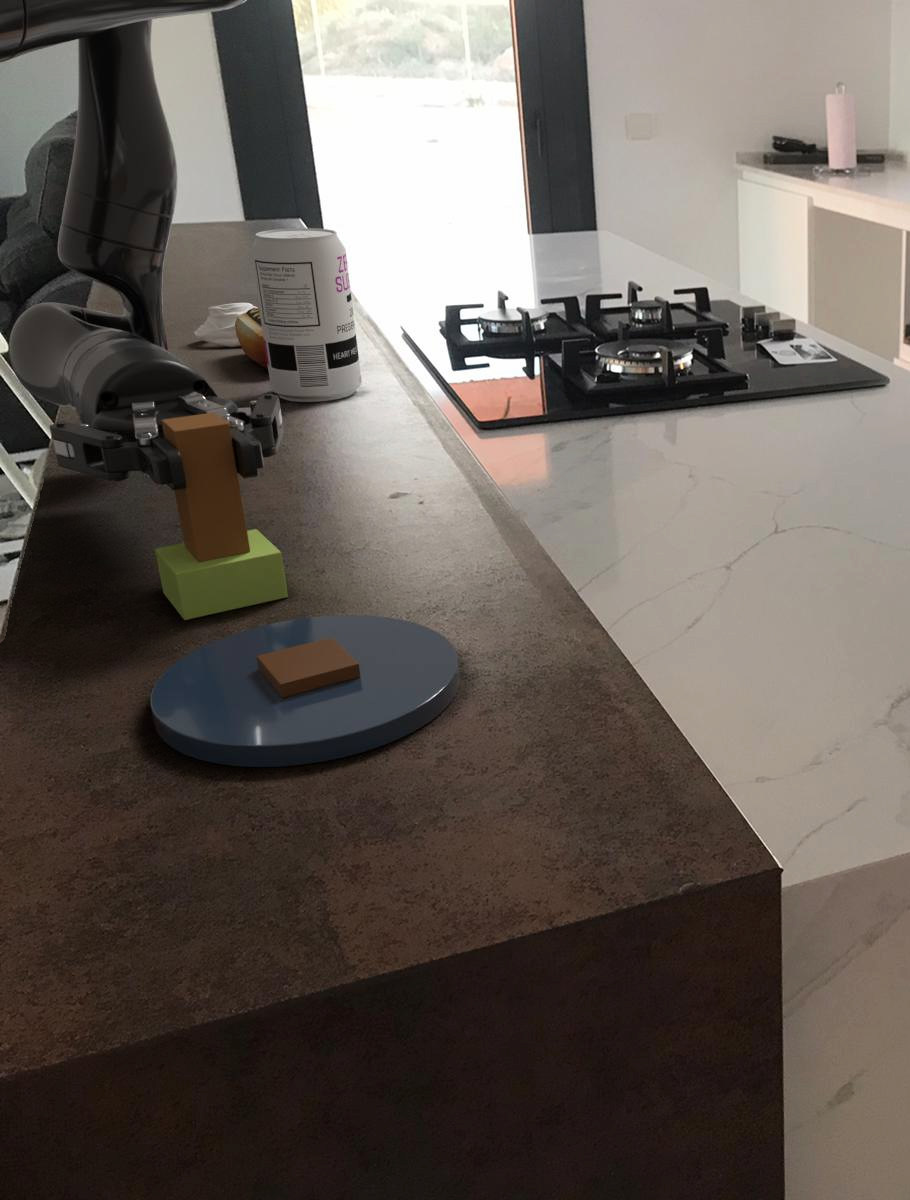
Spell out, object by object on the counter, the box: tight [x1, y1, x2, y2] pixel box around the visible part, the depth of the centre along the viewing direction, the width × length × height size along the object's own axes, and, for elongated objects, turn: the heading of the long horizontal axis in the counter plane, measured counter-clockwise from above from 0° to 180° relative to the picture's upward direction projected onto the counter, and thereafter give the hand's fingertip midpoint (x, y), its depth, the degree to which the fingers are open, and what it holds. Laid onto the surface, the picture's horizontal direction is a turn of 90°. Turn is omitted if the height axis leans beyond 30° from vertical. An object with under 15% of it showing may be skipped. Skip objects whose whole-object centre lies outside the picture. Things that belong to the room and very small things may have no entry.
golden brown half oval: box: [235, 307, 268, 370], centre depth 134 cm, size 5×13×5 cm, turn 32°
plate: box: [149, 614, 461, 768], centre depth 67 cm, size 15×15×1 cm
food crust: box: [256, 637, 361, 698], centre depth 66 cm, size 4×4×1 cm
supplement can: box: [250, 227, 363, 403], centre depth 121 cm, size 8×8×15 cm
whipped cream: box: [193, 302, 258, 348], centre depth 143 cm, size 8×7×5 cm
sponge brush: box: [154, 413, 289, 621], centre depth 76 cm, size 6×5×11 cm
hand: (214, 466), depth 73 cm, fingers open, 3 cm apart
